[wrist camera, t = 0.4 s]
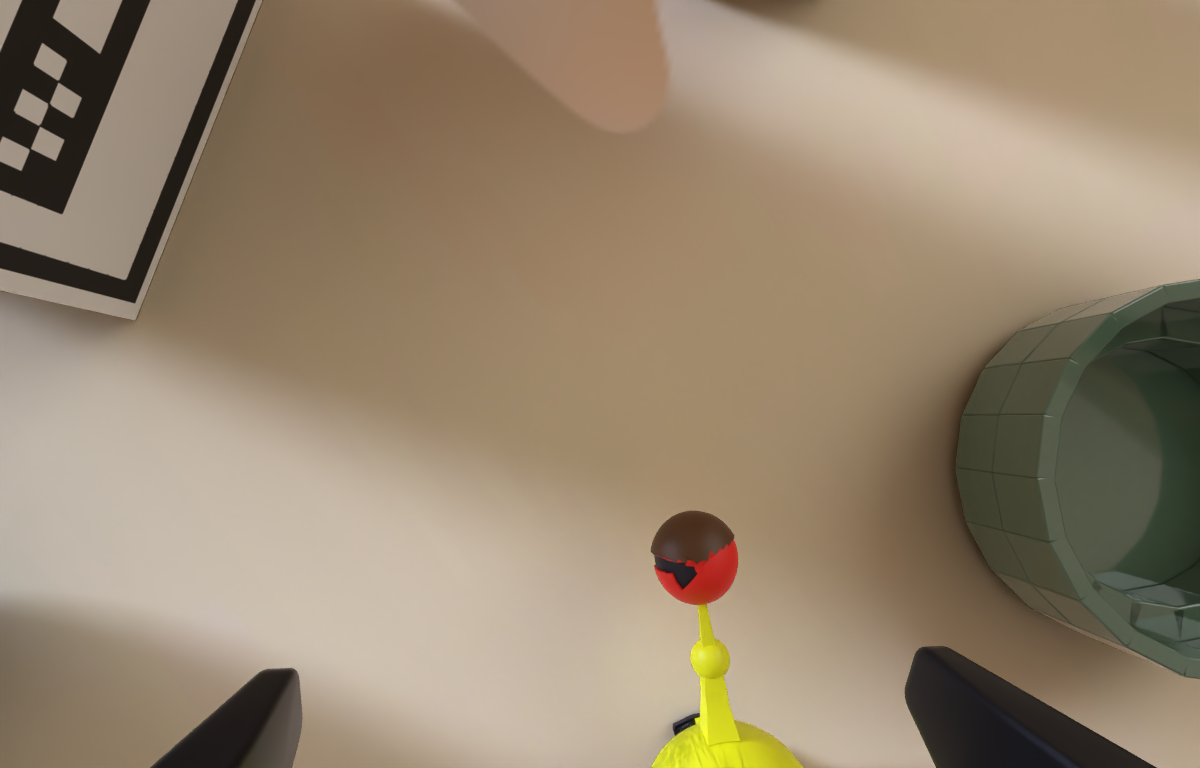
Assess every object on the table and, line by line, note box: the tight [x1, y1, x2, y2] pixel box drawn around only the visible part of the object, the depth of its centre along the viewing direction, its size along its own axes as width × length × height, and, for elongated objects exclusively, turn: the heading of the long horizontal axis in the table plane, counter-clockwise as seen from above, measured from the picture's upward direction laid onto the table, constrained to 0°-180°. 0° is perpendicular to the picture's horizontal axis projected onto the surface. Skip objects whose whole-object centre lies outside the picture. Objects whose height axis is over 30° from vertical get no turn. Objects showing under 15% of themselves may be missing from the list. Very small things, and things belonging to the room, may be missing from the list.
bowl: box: [955, 279, 1200, 679], centre depth 21 cm, size 12×12×4 cm
